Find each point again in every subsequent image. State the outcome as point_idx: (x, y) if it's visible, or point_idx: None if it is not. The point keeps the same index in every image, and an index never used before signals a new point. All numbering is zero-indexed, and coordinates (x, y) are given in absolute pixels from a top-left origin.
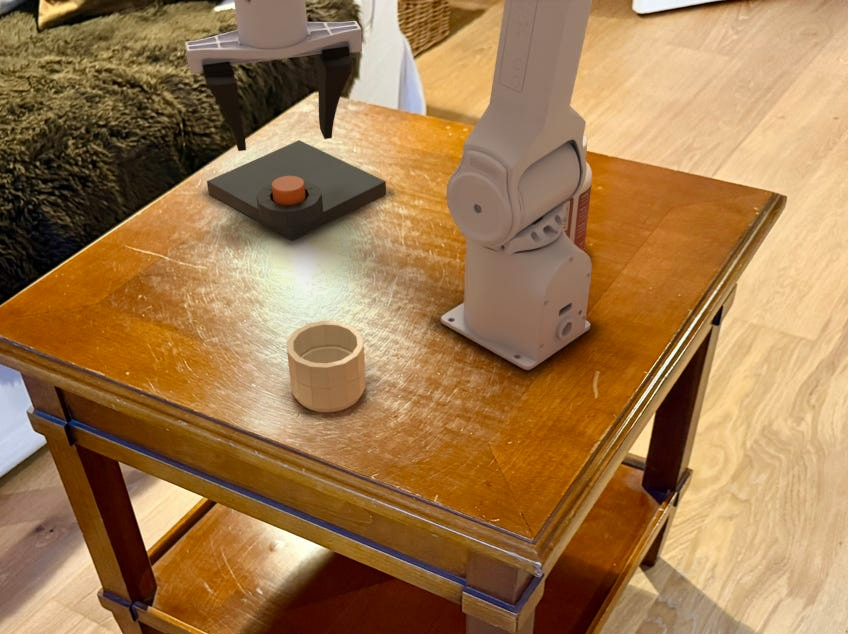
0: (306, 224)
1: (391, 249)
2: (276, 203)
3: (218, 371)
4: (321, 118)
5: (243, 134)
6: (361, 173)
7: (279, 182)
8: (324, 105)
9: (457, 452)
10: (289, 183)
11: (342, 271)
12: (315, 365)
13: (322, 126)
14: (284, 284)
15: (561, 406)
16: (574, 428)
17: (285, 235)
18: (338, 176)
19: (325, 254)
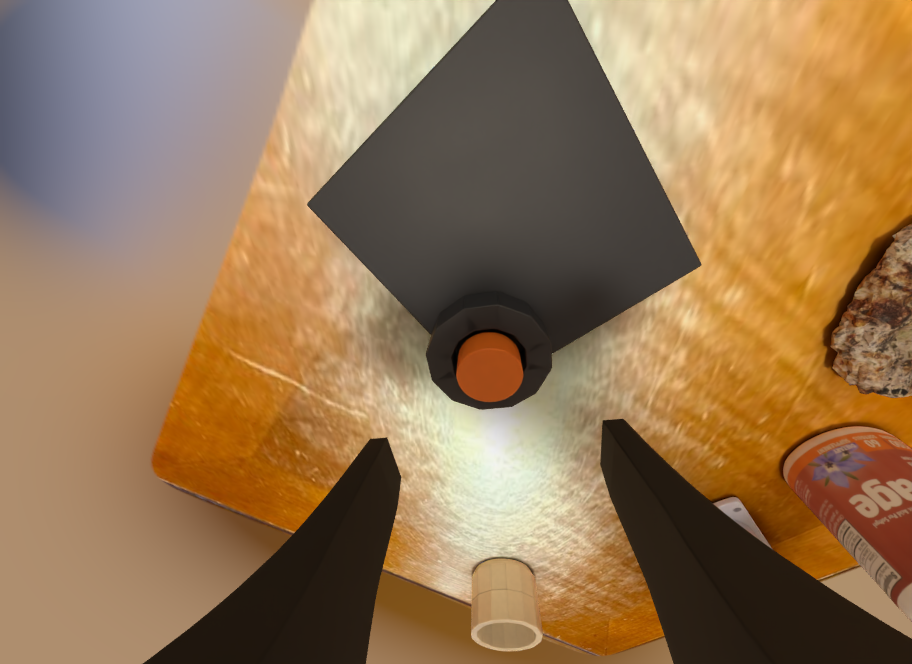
0: None
1: (626, 414)
2: None
3: (407, 546)
4: (619, 480)
5: (391, 528)
6: (662, 222)
7: (472, 372)
8: (645, 567)
9: (585, 619)
10: (492, 378)
11: (546, 445)
12: (494, 648)
13: (610, 476)
14: (469, 457)
15: None
16: None
17: None
18: (605, 227)
19: (530, 411)
